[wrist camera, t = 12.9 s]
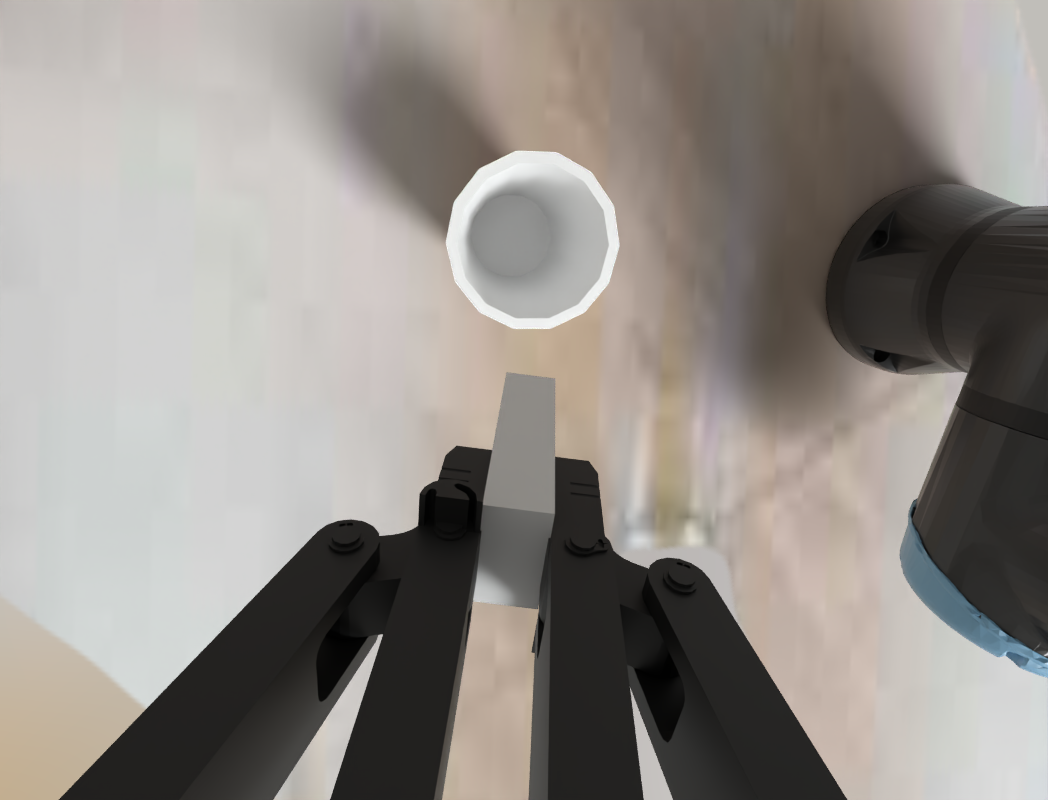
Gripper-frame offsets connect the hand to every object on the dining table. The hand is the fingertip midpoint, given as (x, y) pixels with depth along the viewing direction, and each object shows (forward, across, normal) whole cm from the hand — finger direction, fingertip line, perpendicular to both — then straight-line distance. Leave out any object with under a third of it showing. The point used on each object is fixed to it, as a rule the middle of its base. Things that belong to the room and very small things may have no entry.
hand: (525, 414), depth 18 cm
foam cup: (+29, -2, -1) cm, 29 cm away
